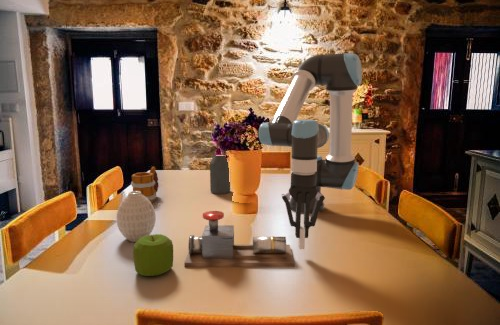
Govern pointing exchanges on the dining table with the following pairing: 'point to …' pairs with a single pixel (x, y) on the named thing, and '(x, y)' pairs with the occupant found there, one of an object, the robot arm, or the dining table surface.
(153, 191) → the mug
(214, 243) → the gate valve
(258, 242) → the pipe
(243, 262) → the board
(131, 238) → the vase
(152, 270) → the apple
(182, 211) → the dining table surface
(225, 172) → the bottle
